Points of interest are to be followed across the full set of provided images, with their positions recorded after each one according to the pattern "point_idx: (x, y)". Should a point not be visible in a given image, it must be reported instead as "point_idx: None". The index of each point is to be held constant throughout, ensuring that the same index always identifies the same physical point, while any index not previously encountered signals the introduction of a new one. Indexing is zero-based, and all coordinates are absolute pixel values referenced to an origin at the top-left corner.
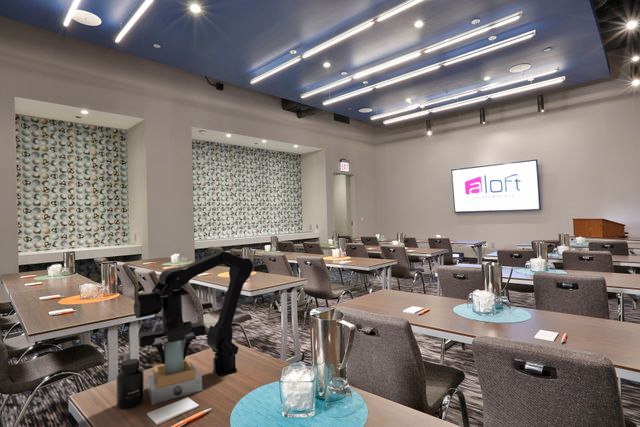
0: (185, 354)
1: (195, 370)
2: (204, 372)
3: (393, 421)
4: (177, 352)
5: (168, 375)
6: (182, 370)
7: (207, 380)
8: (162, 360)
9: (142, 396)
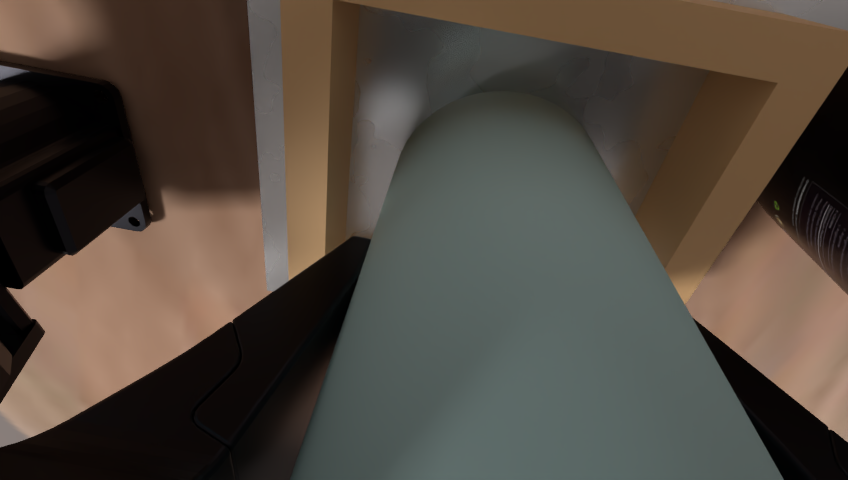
0: (319, 272)
1: (275, 154)
2: (222, 235)
3: None
4: (517, 283)
5: (684, 36)
6: (425, 129)
7: (219, 86)
8: (705, 332)
9: (845, 88)
